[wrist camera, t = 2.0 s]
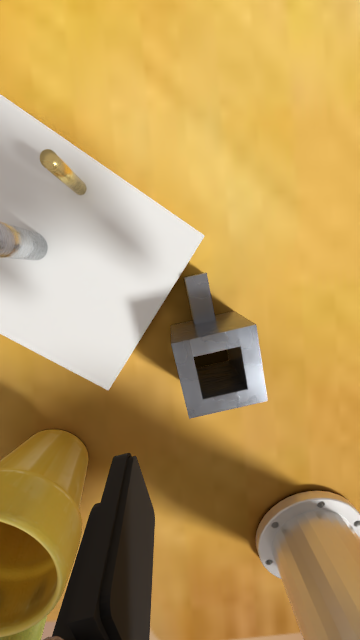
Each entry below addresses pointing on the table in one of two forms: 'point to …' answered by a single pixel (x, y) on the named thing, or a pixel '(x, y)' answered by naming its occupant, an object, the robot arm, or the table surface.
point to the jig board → (82, 254)
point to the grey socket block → (212, 336)
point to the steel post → (21, 243)
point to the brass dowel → (62, 171)
